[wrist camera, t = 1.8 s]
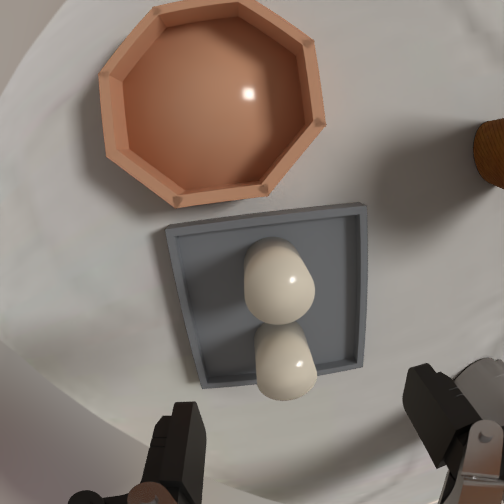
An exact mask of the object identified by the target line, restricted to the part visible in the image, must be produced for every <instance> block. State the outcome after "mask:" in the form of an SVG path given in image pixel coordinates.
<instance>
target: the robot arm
mask: <svg viewBox="0 0 504 504" xmlns="http://www.w3.org/2000/svg"><path fill="white" fill-rule="evenodd" d="M403 406H404V409H405V411H406V413H407V415H408V416H409V418H410V420H411V422H412V424H413V426H414V427H415V429H416V431H417V433H418V435H419V437H420V438H421V440H422V442H423V444H424V446H425V448H426V450H427V451H428V453H429V455H430V457H431V459H432V461H433V463H434V465H435V467H436V469H438V468H440V467H442V466H445V465H447V467H448V469H449V470H448V472H447V474H446V478H445V481H444V485H443V488H442V491H441V495H440V498H439V501H438V504H501V501H502V500H503V501H504V362H503V361H502V360H501V359H500V360H498V361H495V360H493V359H492V358H484V359H481V360H479V361H477V362H475V363H473V364H472V365H470V366H469V367H468V368H466V369H465V370H464V371H463V372H462V373H461V374H460V375H459V376H458V377H457V378H456V379H455V381H454V382H453V380H452V379H451V378H450V377H448V376H447V375H445V374H443V373H442V372H438V373H436V372H435V371H434V369H433V368H432V367H431V366H430V364H428V363H425V364H422V365H418V366H415V367H411V368H409V370H408V373H407V378H406V383H405V388H404V392H403ZM205 453H206V431H205V427H204V424H203V421H202V418H201V415H200V412H199V409H198V406H197V403H196V402H195V401H194V402H175V404H174V407H173V412H172V416H162V418H161V419H160V420H159V421H158V423H157V424H156V425H155V428H154V432H153V436H152V440H151V443H150V448H149V451H148V456H147V460H146V464H145V468H144V472H143V476H142V480H141V482H140V484H138V485H136V486H135V487H133V488H132V489H131V490H130V492H129V493H128V494H125V495H120V496H114V497H106V498H102V497H101V496H100V495H98V494H97V493H95V492H93V491H89V490H85V491H80V492H77V493H75V494H74V495H73V496H72V497H71V498H70V499H69V501H68V504H201V502H202V489H203V477H204V464H205Z"/></svg>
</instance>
